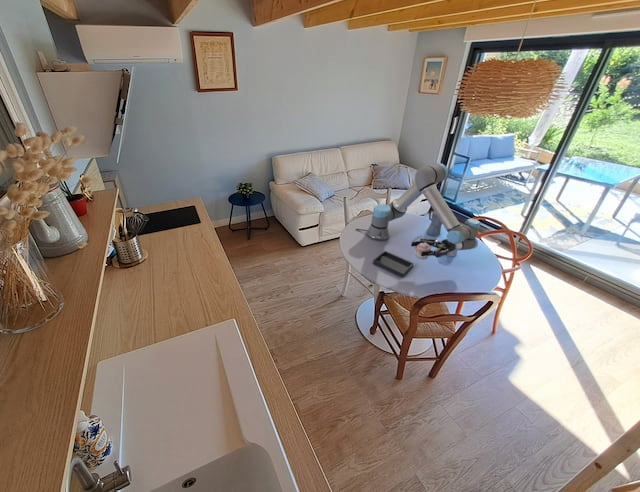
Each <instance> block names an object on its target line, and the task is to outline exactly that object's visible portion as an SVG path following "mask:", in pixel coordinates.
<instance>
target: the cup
mask: <svg viewBox="0 0 640 492" xmlns="http://www.w3.org/2000/svg"><path fill="white" fill-rule="evenodd" d="M457 254H458V251H451V252H450V254H449V255H446V256H448V257H452V258H453V257H455V256H456V255H457Z"/></svg>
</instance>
